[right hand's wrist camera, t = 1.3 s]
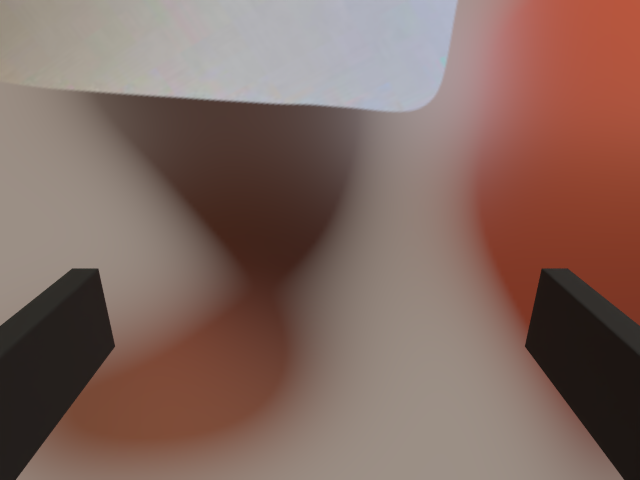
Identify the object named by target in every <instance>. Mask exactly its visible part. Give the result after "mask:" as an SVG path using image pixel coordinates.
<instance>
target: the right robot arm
mask: <svg viewBox="0 0 640 480" xmlns="http://www.w3.org/2000/svg"><path fill="white" fill-rule="evenodd" d="M114 347H115V344H114V339H113V335H112V330H111V325H110V321H109V316H108V312H107V307H106V302H105V298H104V293H103V288H102V284H101V279H100V274H99V270H98V269H71V270H70V271H69V272H67V273H66V274H65V275H64V276H62V277H61V278H60V279H59V280H57V281H56V282H55V283H54V284H52V285H51V286H50V287H49V288H47V289H46V290H45V291H44V292H42V293H41V294H40V295H39V296H37V297H36V298H35V299H34V300H32V301H31V302H30V303H29V304H27V305H26V306H25V307H24V308H22V309H21V310H20V311H19V312H17V313H16V314H15V315H14V316H12V317H11V318H10V319H8V320H7V321H6V322H5V323H3V324H2V325H1V326H0V480H16V479H17V477H18V476H19V475H20V473H21V472H22V471H23V469H24V468H25V467H26V465H27V464H28V462H29V461H30V460H31V459H32V457H33V456H34V454H35V453H36V452H37V450H38V449H39V448H40V446H41V445H42V444H43V442H44V441H45V440H46V438H47V437H48V436H49V434H50V433H51V432H52V430H53V429H54V428H55V426H56V425H57V424H58V422H59V421H60V420H61V418H62V417H63V415H64V414H65V413H66V412H67V410H68V409H69V408H70V406H71V405H72V403H73V402H74V401H75V399H76V398H77V397H78V395H79V394H80V393H81V391H82V390H83V389H84V387H85V386H86V385H87V383H88V382H89V381H90V379H91V378H92V377H93V375H94V374H95V373H96V371H97V370H98V369H99V367H100V366H101V364H102V363H103V362H104V361H105V359H106V358H107V356H108V355H109V354H110V352H111V351H112V350H113V348H114ZM525 347H526V348H527V350H528V351H529V352H530V354H531V355H532V356H533V358H534V359H535V360H536V362H537V363H538V365H539V366H540V367H541V369H542V370H543V371H544V373H545V374H546V375H547V377H548V378H549V379H550V381H551V382H552V383H553V385H554V386H555V387H556V389H557V390H558V391H559V393H560V394H561V395H562V397H563V398H564V399H565V401H566V402H567V403H568V405H569V406H570V407H571V409H572V410H573V412H574V413H575V414H576V416H577V417H578V418H579V420H580V421H581V422H582V424H583V425H584V426H585V428H586V429H587V430H588V432H589V433H590V434H591V436H592V437H593V438H594V440H595V441H596V442H597V444H598V445H599V446H600V448H601V449H602V450H603V452H604V453H605V454H606V456H607V457H608V459H609V460H610V461H611V462H612V464H613V465H614V466H615V468H616V469H617V471H618V472H619V473H620V475H621V476H622V477H623V479H624V480H640V326H639V325H638V324H637V323H635V322H634V321H633V320H632V319H630V318H629V317H628V316H626V315H625V314H624V313H623V312H621V311H620V310H619V309H618V308H616V307H615V306H614V305H613V304H611V303H610V302H609V301H608V300H606V299H605V298H604V297H603V296H601V295H600V294H599V293H598V292H596V291H595V290H594V289H593V288H591V287H590V286H589V285H588V284H586V283H585V282H584V281H583V280H581V279H580V278H579V277H578V276H576V275H575V274H574V273H572V272H571V271H570V270H569V269H542V270H541V274H540V279H539V284H538V288H537V293H536V298H535V303H534V307H533V312H532V316H531V321H530V325H529V330H528V335H527V339H526V344H525Z"/></svg>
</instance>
